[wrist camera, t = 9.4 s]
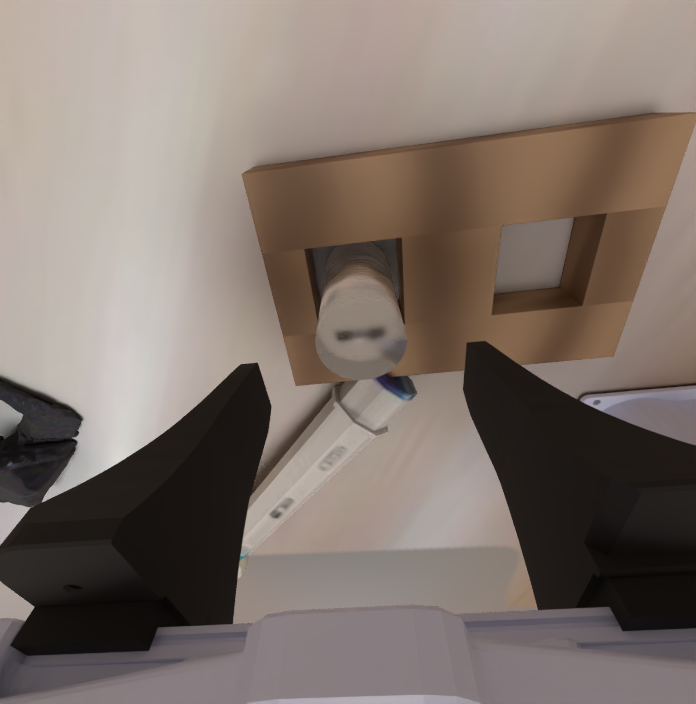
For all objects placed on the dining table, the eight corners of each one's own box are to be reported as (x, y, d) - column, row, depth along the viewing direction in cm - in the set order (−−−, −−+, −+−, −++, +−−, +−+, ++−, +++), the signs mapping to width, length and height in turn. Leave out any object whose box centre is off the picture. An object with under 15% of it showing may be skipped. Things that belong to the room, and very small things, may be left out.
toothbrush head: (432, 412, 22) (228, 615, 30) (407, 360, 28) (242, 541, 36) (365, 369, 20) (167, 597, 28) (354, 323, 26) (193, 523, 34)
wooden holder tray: (654, 112, 17) (699, 112, 14) (589, 334, 23) (613, 356, 21) (254, 167, 18) (241, 174, 16) (300, 362, 24) (295, 385, 22)
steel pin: (386, 235, 20) (405, 297, 13) (389, 295, 22) (408, 376, 15) (321, 243, 20) (308, 308, 13) (330, 301, 22) (323, 383, 15)
